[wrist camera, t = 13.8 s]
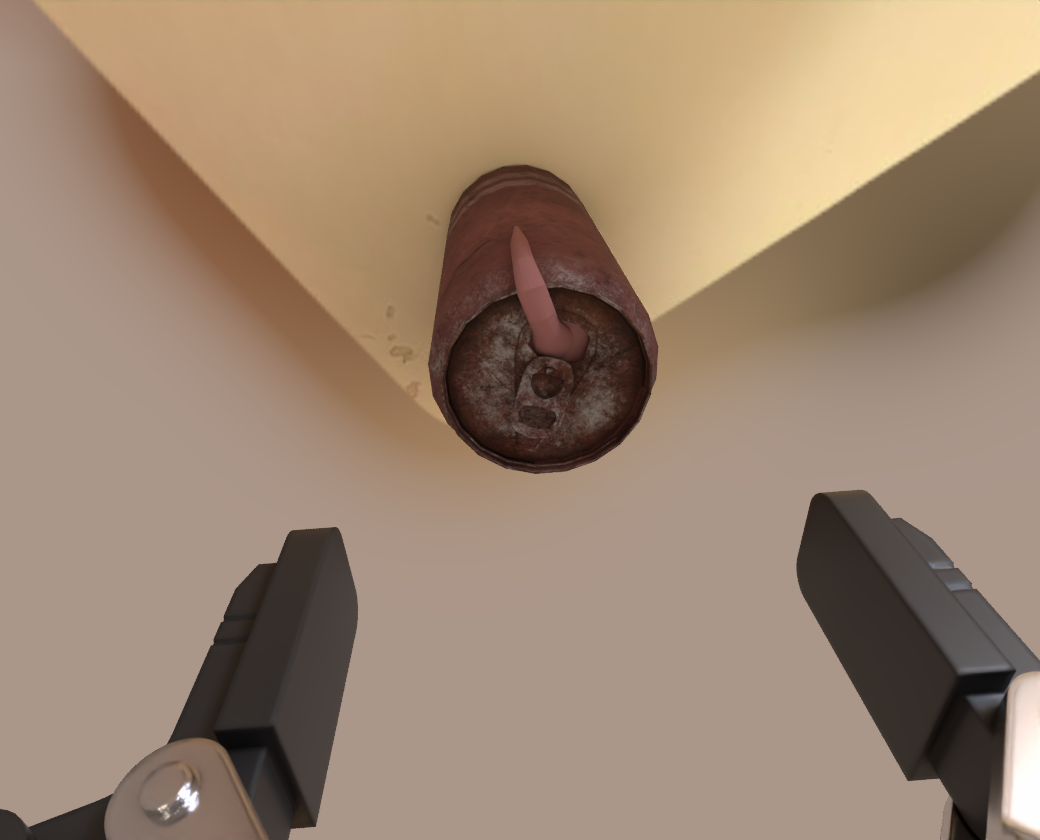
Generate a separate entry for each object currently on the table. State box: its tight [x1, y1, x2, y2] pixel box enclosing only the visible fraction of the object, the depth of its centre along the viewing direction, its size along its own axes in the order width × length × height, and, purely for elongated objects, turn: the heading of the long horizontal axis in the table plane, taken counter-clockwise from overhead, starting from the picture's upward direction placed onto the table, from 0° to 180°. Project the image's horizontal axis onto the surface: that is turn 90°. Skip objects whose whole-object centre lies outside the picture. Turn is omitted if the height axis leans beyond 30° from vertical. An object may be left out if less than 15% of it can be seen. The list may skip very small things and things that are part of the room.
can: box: [428, 166, 658, 474], centre depth 22 cm, size 6×6×14 cm
